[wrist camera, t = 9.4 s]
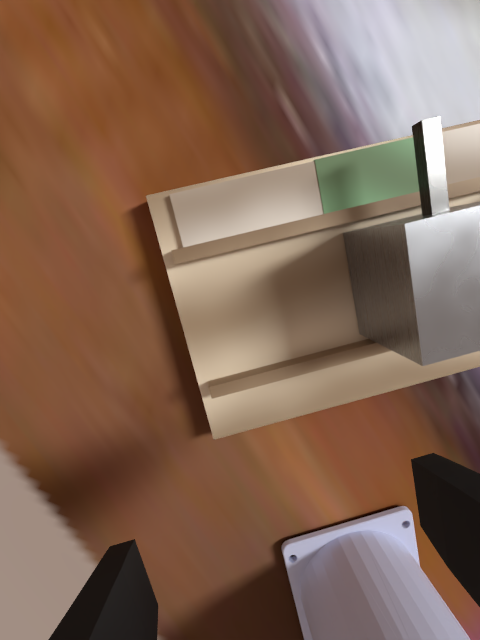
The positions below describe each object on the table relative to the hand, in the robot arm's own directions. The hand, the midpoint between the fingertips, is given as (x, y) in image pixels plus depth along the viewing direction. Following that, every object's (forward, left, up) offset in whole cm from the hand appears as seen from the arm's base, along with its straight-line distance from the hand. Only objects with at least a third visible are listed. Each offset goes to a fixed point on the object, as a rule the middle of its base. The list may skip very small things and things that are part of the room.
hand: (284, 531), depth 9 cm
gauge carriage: (+6, -9, -9) cm, 14 cm away
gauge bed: (+4, -9, -10) cm, 14 cm away
